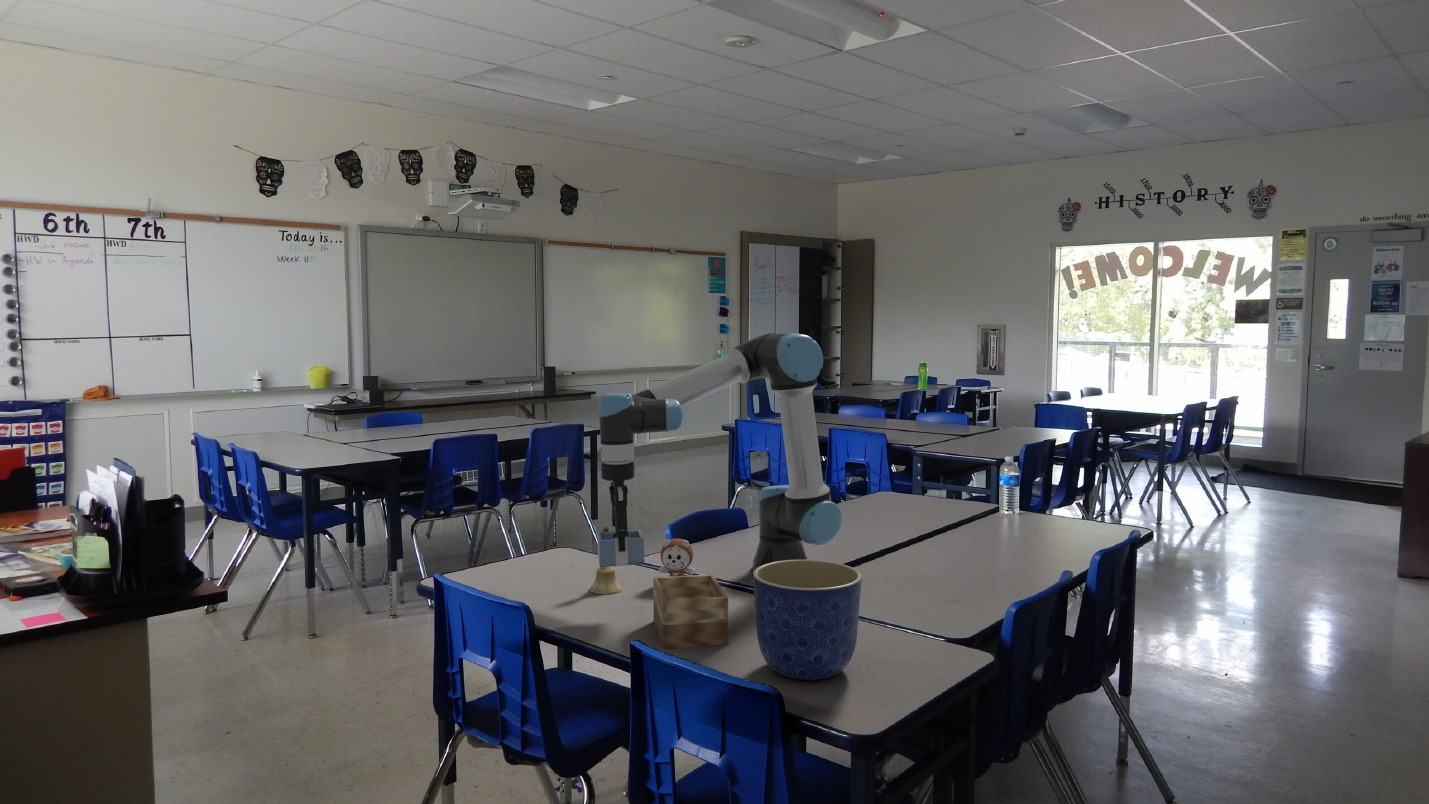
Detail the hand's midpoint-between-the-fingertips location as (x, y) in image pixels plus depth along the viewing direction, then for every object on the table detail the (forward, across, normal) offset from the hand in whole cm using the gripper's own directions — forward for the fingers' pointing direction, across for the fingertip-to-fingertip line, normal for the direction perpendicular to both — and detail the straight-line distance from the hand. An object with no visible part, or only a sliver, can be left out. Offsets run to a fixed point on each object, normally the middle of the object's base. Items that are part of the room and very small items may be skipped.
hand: (620, 559), depth 204 cm
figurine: (+13, -20, +15) cm, 28 cm away
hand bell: (+13, -20, -3) cm, 24 cm away
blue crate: (0, 0, 0) cm, 0 cm away
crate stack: (+13, +15, +13) cm, 24 cm away
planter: (+13, +40, +32) cm, 53 cm away
